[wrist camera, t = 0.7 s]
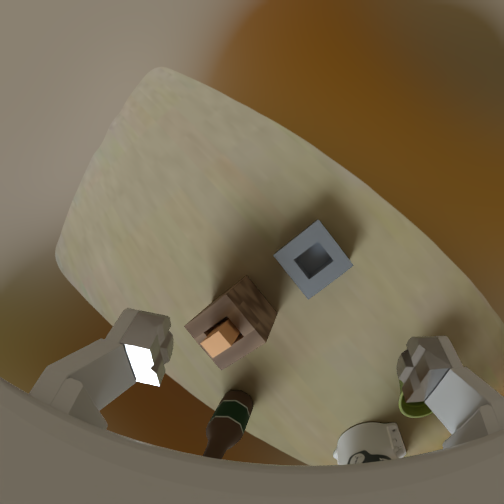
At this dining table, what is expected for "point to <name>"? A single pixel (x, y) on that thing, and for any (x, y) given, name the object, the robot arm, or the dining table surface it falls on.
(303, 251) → the low socket
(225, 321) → the peg
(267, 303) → the wood block with hole
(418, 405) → the plant pot
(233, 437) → the beer bottle
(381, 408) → the dining table surface
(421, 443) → the dining table surface
